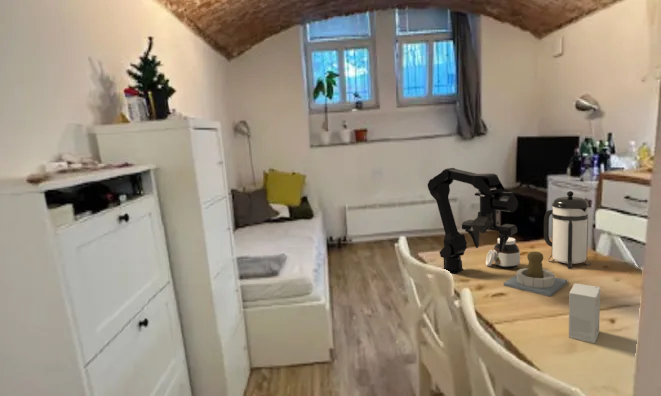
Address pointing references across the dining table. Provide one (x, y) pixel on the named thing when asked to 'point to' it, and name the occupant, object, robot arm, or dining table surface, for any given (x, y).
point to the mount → (536, 282)
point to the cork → (535, 265)
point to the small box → (584, 312)
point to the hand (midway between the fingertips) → (488, 249)
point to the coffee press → (568, 229)
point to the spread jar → (504, 255)
